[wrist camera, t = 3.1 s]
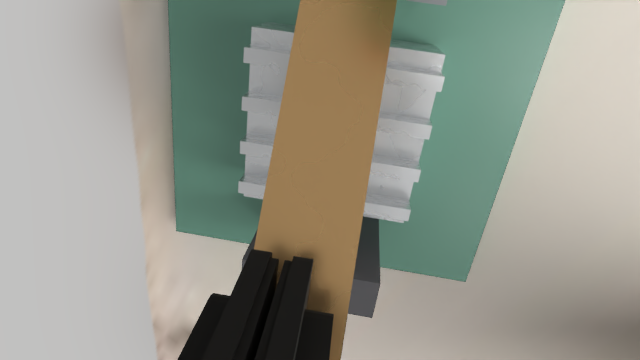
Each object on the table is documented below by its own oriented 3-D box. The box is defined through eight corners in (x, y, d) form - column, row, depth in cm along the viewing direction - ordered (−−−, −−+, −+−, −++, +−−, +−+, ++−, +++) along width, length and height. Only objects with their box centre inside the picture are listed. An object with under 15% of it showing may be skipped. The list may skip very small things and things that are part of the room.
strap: (400, -32, 14) (410, -73, 12) (332, 393, 12) (332, 423, 10) (313, -44, 14) (310, -86, 12) (236, 375, 12) (219, 401, 11)
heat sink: (459, -57, 17) (504, -82, 11) (400, 195, 22) (408, 267, 17) (275, -81, 18) (226, -117, 12) (259, 172, 23) (219, 233, 17)
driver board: (577, -61, 17) (691, -90, 11) (462, 271, 25) (491, 364, 19) (173, -112, 18) (70, -165, 12) (183, 222, 26) (123, 296, 20)
